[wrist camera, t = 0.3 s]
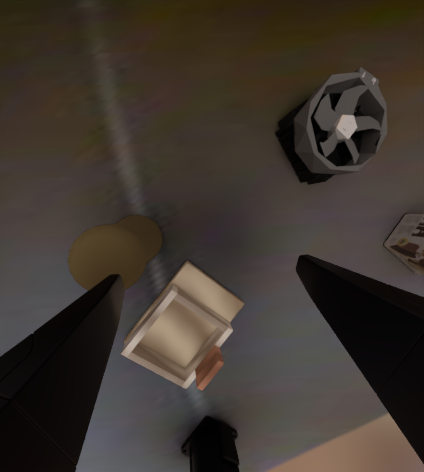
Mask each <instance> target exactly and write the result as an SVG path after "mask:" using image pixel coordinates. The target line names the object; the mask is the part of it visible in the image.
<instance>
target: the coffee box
mask: <svg viewBox="0 0 424 472" xmlns="http://www.w3.org/2000/svg"><path fill="white" fill-rule="evenodd" d="M384 246H385V247H386V248H387V249H388V250H389V251H390V252H392V253H393V254H394V255H395V256H396V257H397V258H398V259H399V260H401V261H402V262H403V263H404V264H405V265H406V266H407V267H408V268H410V269H411V270H412V271H413V272H414V273H416V274H419V275H423V276H424V214H405V216H404V217H403V218H402V220H401V221H400V223H399V224H398V225H397V227H396V228H395V229H394V231H393V232H392V234H391V235H390V236H389V238H388V239H387V240H386V242H385V243H384Z"/></svg>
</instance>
